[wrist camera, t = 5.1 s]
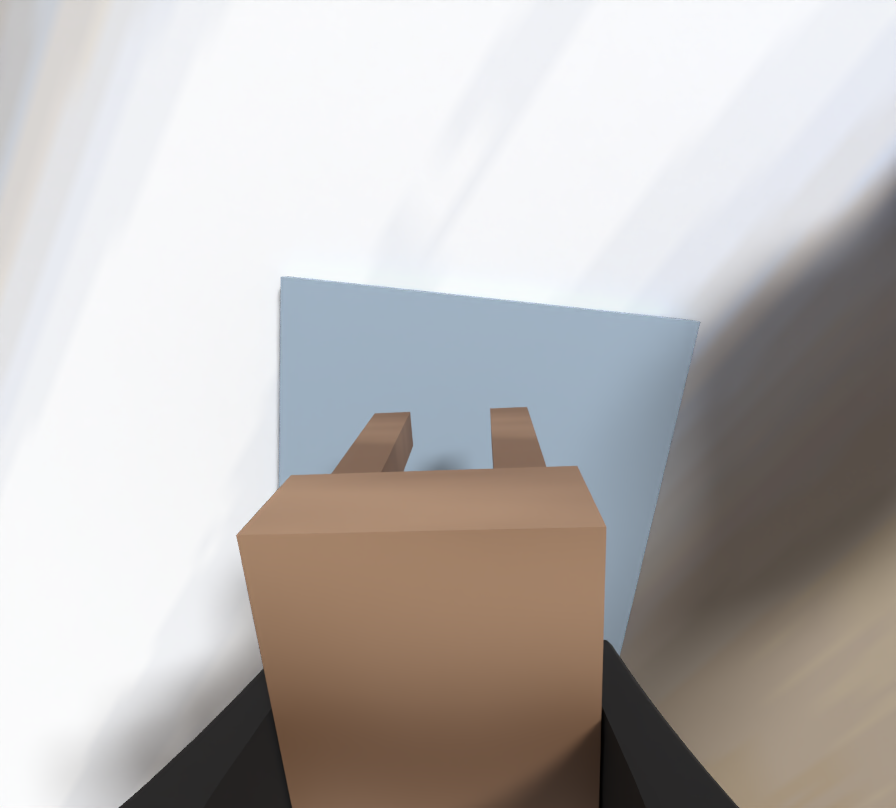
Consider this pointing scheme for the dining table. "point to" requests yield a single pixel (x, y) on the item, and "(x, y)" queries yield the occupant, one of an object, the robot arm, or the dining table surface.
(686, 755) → the robot arm
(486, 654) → the stool
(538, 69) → the dining table surface
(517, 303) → the mat
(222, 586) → the dining table surface
